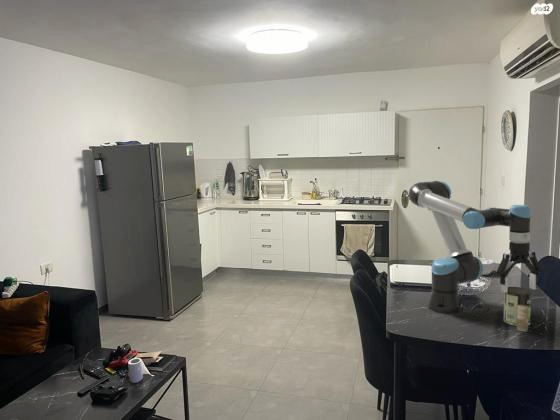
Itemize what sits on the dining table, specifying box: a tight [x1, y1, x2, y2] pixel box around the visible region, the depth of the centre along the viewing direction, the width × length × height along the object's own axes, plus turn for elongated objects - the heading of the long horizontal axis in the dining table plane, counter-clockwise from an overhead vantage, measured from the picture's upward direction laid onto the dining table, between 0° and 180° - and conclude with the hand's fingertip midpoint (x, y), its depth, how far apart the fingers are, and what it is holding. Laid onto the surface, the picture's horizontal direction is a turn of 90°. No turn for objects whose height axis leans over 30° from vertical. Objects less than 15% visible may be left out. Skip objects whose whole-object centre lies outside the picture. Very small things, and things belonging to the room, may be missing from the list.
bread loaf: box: [516, 305, 529, 333], centre depth 169 cm, size 4×4×10 cm
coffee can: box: [502, 286, 533, 327], centre depth 177 cm, size 10×10×14 cm
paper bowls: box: [477, 257, 496, 276], centre depth 251 cm, size 15×15×8 cm
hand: (518, 290), depth 176 cm, fingers open, 13 cm apart
